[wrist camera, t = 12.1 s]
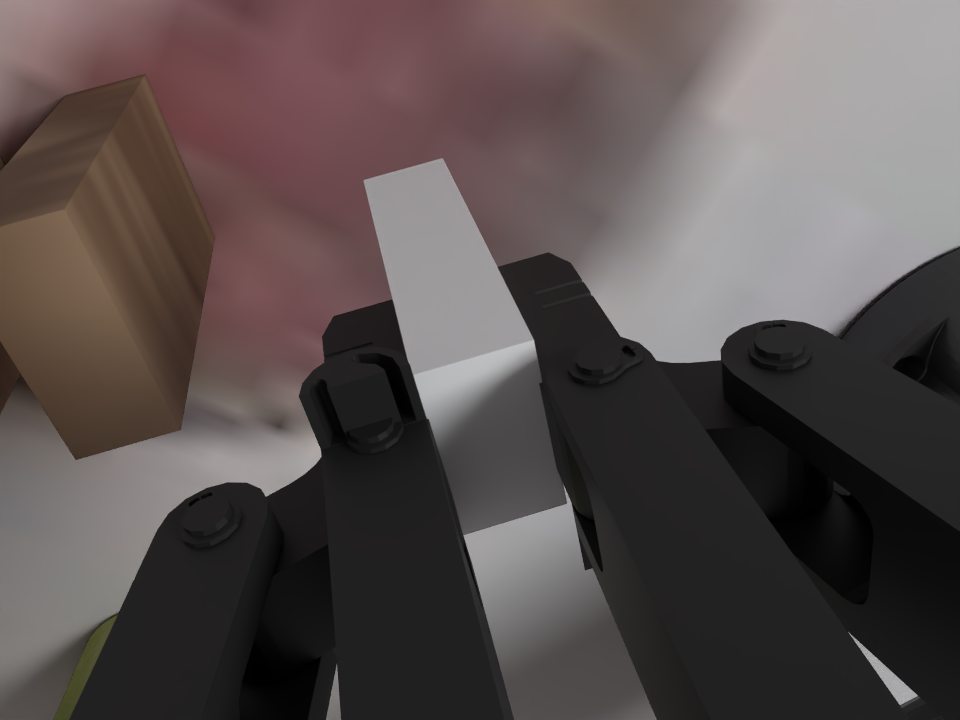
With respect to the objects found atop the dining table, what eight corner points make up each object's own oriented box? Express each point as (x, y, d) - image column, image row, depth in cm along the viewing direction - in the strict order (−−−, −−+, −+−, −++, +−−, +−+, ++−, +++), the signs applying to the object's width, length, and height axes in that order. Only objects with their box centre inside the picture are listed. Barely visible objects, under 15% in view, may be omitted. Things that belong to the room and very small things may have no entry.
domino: (145, 73, 23) (64, 209, 14) (214, 237, 26) (180, 429, 17) (66, 95, 23) (-63, 243, 14) (144, 256, 25) (76, 459, 17)
